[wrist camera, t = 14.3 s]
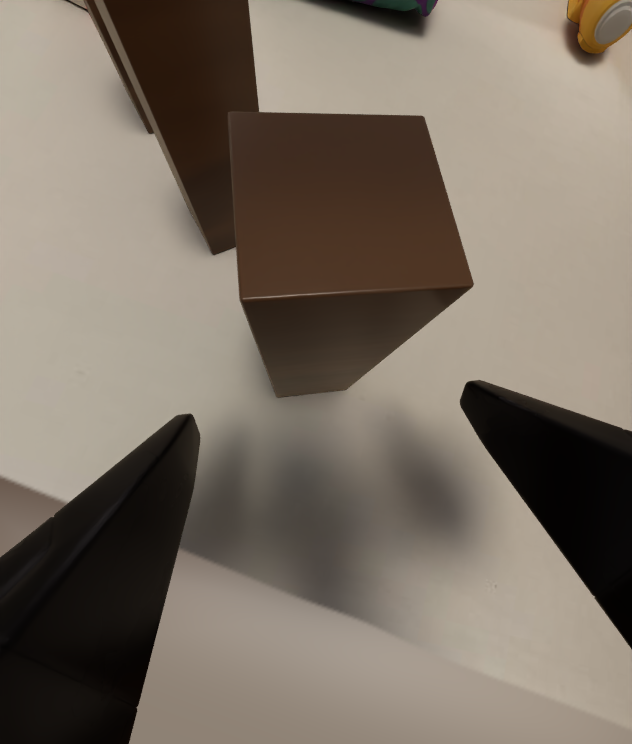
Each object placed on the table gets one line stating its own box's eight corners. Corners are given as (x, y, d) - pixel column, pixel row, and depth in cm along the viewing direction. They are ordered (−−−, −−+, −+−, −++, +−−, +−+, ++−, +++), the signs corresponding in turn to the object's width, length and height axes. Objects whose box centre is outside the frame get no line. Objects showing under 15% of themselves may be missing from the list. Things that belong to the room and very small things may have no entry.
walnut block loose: (346, 389, 17) (476, 286, 5) (276, 397, 16) (238, 301, 4) (336, 325, 18) (424, 113, 6) (270, 330, 17) (226, 109, 5)
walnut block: (271, 233, 19) (239, -90, 7) (213, 255, 18) (72, -71, 6) (244, 187, 20) (177, -172, 8) (187, 206, 19) (19, -165, 7)
